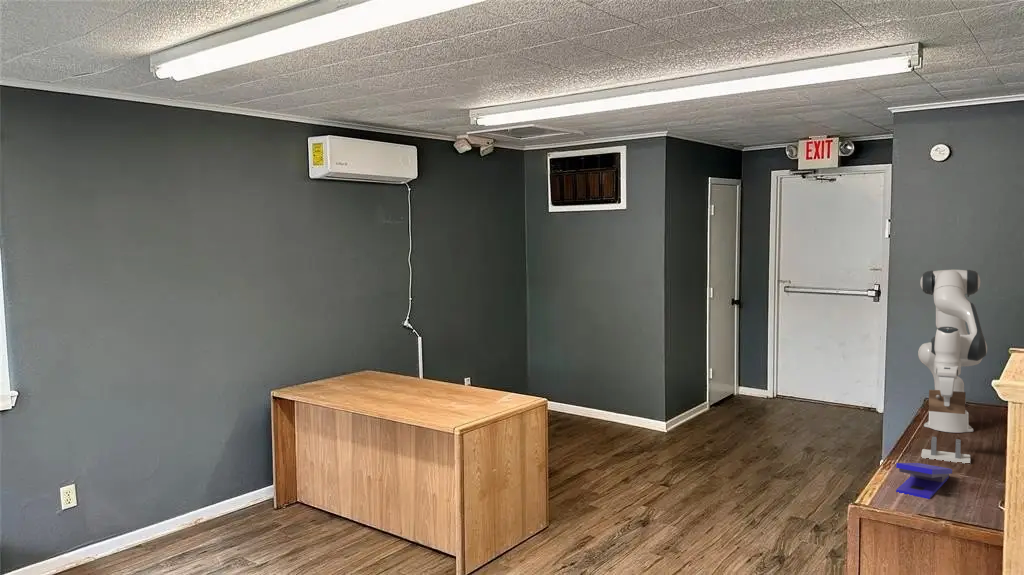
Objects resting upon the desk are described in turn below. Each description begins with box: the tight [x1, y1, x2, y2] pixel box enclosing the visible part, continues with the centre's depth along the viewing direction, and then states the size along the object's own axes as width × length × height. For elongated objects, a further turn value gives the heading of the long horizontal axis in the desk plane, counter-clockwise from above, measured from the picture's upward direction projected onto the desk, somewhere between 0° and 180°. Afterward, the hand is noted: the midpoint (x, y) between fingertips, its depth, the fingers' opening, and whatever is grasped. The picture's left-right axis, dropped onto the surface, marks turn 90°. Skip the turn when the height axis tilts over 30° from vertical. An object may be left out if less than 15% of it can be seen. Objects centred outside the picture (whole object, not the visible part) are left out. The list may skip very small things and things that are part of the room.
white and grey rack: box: [920, 436, 971, 464], centre depth 280 cm, size 8×16×7 cm, turn 58°
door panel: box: [928, 389, 966, 414], centre depth 280 cm, size 4×12×8 cm, turn 58°
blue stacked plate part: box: [895, 462, 953, 500], centre depth 250 cm, size 12×28×10 cm, turn 138°
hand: (946, 404), depth 281 cm, fingers closed on door panel, 3 cm apart
